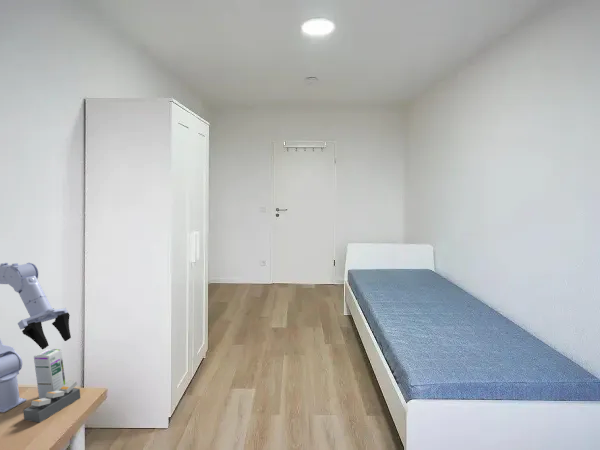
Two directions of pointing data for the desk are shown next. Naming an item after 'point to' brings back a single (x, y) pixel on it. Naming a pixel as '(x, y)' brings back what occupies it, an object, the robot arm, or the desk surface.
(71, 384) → the rocker
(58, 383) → the syrup box
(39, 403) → the rocker
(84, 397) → the desk surface
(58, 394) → the block
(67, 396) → the rocker switch panel
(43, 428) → the desk surface
